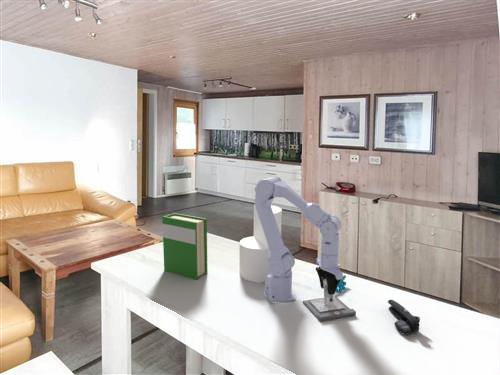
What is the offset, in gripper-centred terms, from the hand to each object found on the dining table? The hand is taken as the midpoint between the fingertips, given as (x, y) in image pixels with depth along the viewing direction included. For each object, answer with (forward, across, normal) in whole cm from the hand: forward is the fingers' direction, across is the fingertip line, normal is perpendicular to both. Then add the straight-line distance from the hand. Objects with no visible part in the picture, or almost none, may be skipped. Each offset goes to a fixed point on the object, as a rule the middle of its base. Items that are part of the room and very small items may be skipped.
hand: (327, 291), depth 122 cm
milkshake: (+5, 0, 0) cm, 5 cm away
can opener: (+7, -14, -19) cm, 24 cm away
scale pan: (+5, 0, 0) cm, 5 cm away
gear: (+6, +13, -11) cm, 18 cm away
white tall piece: (+6, +34, +13) cm, 37 cm away
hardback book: (+6, +44, +43) cm, 62 cm away
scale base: (+6, -1, 0) cm, 6 cm away
